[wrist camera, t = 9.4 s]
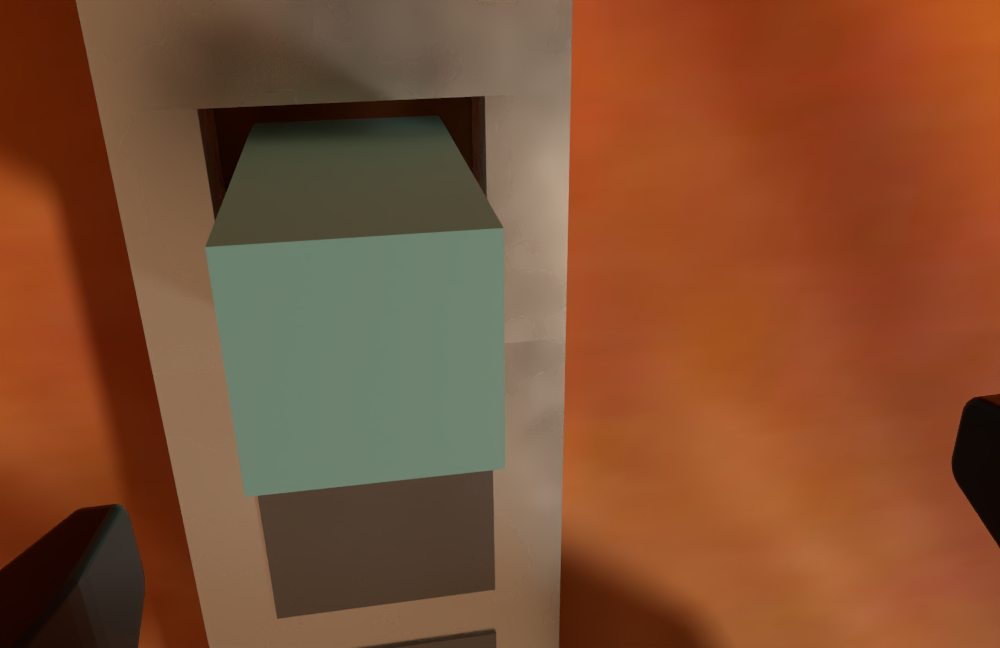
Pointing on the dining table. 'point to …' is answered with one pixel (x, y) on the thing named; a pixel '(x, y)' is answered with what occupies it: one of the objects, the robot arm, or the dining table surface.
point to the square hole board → (195, 337)
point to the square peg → (359, 306)
